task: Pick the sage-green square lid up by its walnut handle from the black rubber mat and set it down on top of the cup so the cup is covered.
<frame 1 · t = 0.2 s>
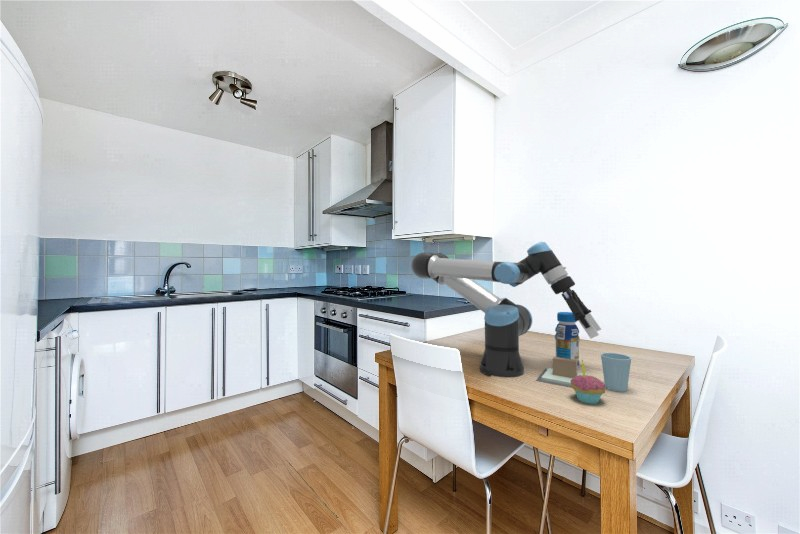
hand: (596, 333, 108), 15 cm above the table, tool tilted 30°, fingers open, 13 cm apart
cup: (615, 390, 97), on the table
beverage bottle: (567, 365, 122), on the table
mat: (564, 380, 105), on the table
lid: (564, 378, 105), point 1 cm above the table, touching mat
cupcake: (587, 402, 89), on the table
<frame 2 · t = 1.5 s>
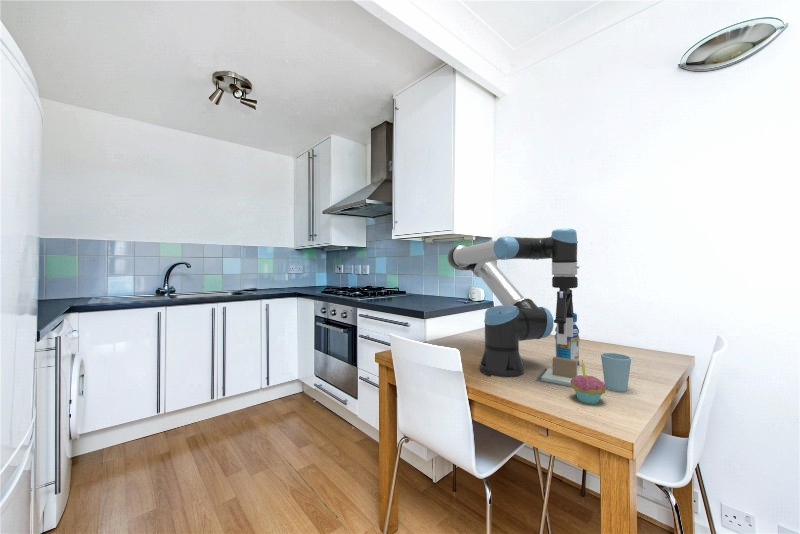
hand: (565, 340, 105), 13 cm above the table, tool pointing down, fingers open, 13 cm apart
nothing on the table moved.
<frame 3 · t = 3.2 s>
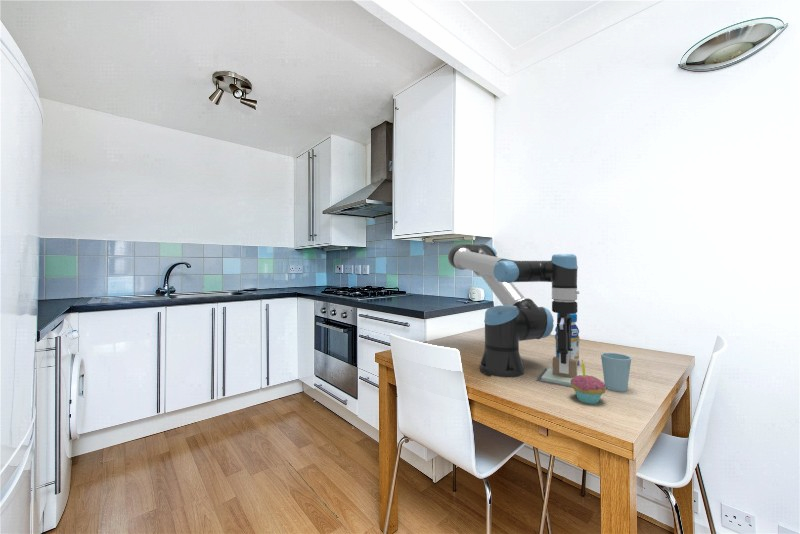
hand: (564, 371, 105), 3 cm above the table, tool pointing down, fingers closed on lid, 2 cm apart
lid: (564, 378, 105), point 1 cm above the table, touching gripper, mat
everything else where it was.
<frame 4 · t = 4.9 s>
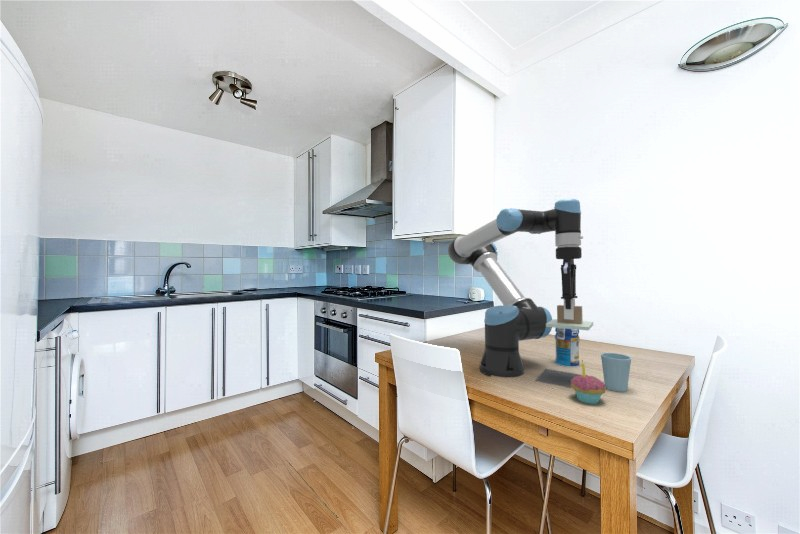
hand: (569, 318, 104), 21 cm above the table, tool pointing down, fingers closed on lid, 2 cm apart
lid: (569, 325, 104), point 18 cm above the table, touching gripper
everything else where it was.
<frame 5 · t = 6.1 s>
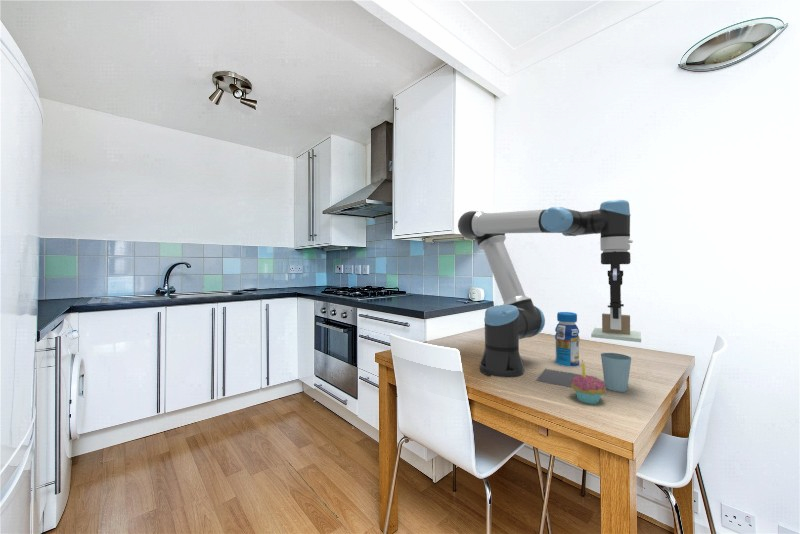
hand: (616, 328, 97), 19 cm above the table, tool pointing down, fingers closed on lid, 2 cm apart
lid: (616, 336, 97), point 16 cm above the table, touching gripper
everything else where it was.
when the fingers open (14 cm above the table, at t = 7.0 s): lid drops 1 cm, resting on cup.
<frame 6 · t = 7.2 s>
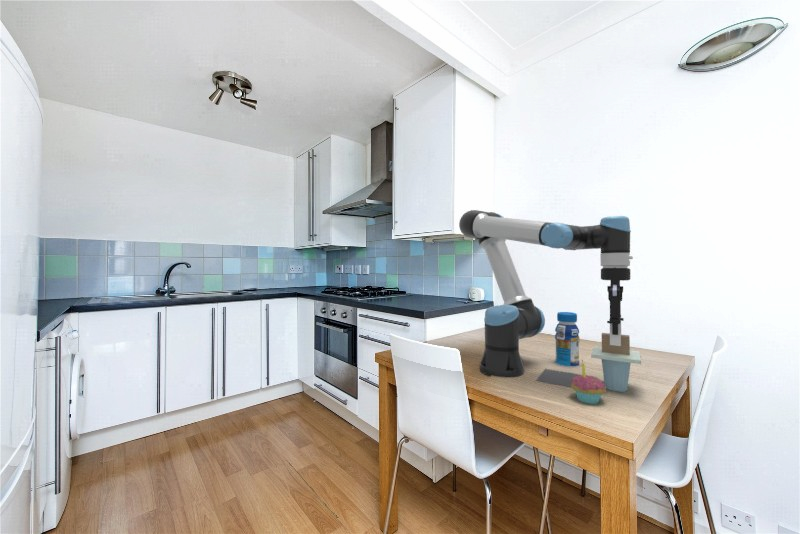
hand: (615, 343, 97), 14 cm above the table, tool pointing down, fingers open, 5 cm apart
cup: (615, 390, 97), on the table, touching lid
lid: (615, 355, 97), point 10 cm above the table, touching cup
everything else where it was.
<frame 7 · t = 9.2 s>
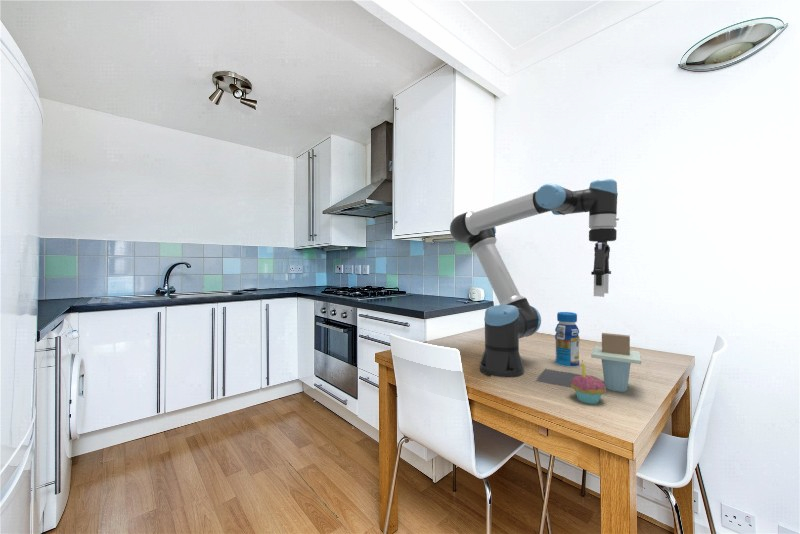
hand: (601, 294, 103), 29 cm above the table, tool pointing down, fingers open, 13 cm apart
nothing on the table moved.
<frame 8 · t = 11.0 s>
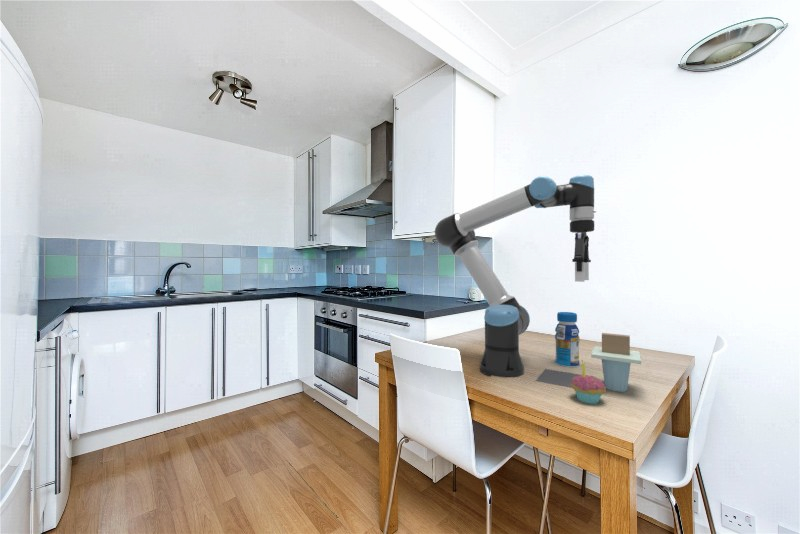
hand: (582, 280, 112), 33 cm above the table, tool pointing down, fingers open, 13 cm apart
nothing on the table moved.
at the end: lid 0.0 cm off-centre on the cup, point 10.6 cm above the cup's base; lid tilted 0°; cup tilted 0° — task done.
